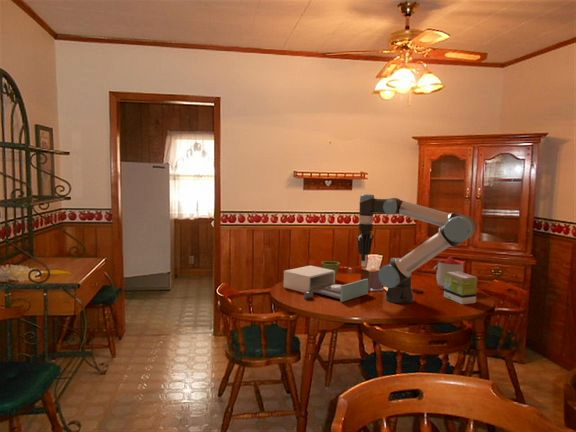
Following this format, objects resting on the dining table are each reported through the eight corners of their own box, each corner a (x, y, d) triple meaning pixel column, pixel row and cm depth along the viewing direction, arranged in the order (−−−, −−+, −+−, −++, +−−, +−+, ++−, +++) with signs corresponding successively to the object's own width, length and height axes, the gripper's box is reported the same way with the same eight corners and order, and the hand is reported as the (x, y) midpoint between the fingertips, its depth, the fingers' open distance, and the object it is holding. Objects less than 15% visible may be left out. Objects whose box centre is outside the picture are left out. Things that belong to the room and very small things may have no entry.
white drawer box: (334, 286, 273) (335, 270, 272) (308, 293, 255) (309, 276, 254) (309, 280, 286) (310, 265, 285) (283, 287, 269) (283, 270, 268)
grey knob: (314, 298, 246) (315, 292, 246) (308, 300, 243) (309, 293, 242) (308, 296, 250) (308, 290, 249) (302, 298, 246) (302, 292, 246)
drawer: (367, 293, 256) (368, 278, 256) (342, 301, 239) (342, 286, 238) (334, 285, 273) (335, 272, 272) (308, 293, 255) (308, 278, 254)
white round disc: (347, 289, 256) (347, 286, 256) (339, 292, 250) (339, 288, 250) (336, 287, 262) (336, 283, 261) (327, 289, 256) (327, 286, 256)
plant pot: (340, 282, 284) (340, 264, 283) (321, 281, 284) (321, 264, 283) (338, 278, 296) (338, 261, 295) (320, 277, 296) (320, 260, 295)
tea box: (442, 297, 254) (444, 271, 253) (457, 295, 258) (458, 270, 256) (461, 304, 240) (463, 277, 239) (476, 303, 244) (478, 276, 242)
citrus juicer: (432, 284, 285) (434, 253, 283) (462, 287, 279) (464, 255, 277) (431, 289, 270) (433, 257, 268) (462, 293, 264) (464, 259, 262)
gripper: (364, 224, 233) (363, 269, 235) (378, 223, 242) (376, 265, 245) (353, 223, 238) (351, 267, 240) (366, 221, 247) (365, 263, 250)
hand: (364, 266), depth 242 cm, fingers closed
